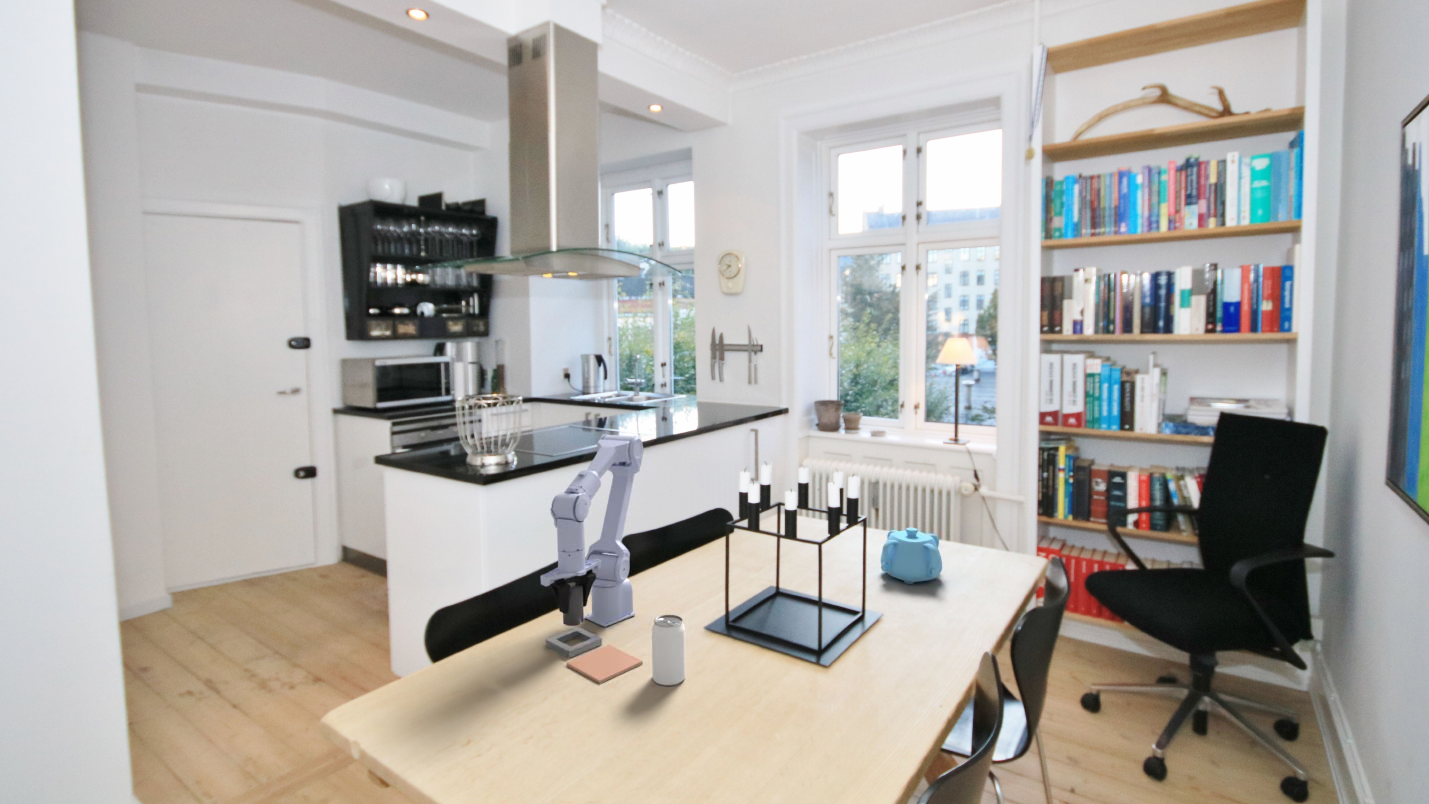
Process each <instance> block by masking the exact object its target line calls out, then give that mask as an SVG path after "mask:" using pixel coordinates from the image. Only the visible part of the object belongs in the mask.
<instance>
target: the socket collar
mask: <svg viewBox="0 0 1429 804" xmlns="http://www.w3.org/2000/svg"><path fill="white" fill-rule="evenodd" d="M575 638H578V639H579V640H581V641H582V642H579V643H577V644H574V645H572V646H570V645H568V644H566V643H565V642H568V641H571V640H574V639H575ZM602 645H603V639H602V637H601V636H599V635H596V634H594V633H592V632H590V631H588V630H586V629H584V628H581V627H580V626H577V627H576V626H575V628H571V629H568V630H566V631H563V632H561V633H558V634H555V635H552V636H551V637H550V636H549V637H548V638H546V639H545V647H548V648H549V649H551V650H552V651H555V652H557V653H559V654H561V655H563V656H564V657H566V658H568V659H571V658H574V657H575V656H576V657H577V656H579V655H580V654H583V653H585V652H588V651H591V650H592V649H595V648H598V647H599V646H602Z"/></svg>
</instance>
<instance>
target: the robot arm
mask: <svg viewBox="0 0 1429 804" xmlns="http://www.w3.org/2000/svg"><path fill="white" fill-rule="evenodd" d="M643 455H644V445H643V441H642V439H641V438H640V436H639V435H621V434H620V435H617V434H616V435H615V434H608V433H603V434H602V435H601V436H600V438H599V439H598V441H597V445H596V455H594V458H593V459H592V460H591V462H590V464H589V465H588V467H587V469H583V470H580V471H578V473H577V475H576V476H575V478H574V479H573V480H572V481H571V483H570V484H569V485H568V486H567V488H566V489H565V490H564V492H559V493H558V494H556V495H555V496H554V497H553V499H552V502H551V507H550V509H549V510H550V515H551V517H552V519H553V524H554V527H555V528H556V534H557V535H556V538H557V539H556V540H557V567H556V568H554V569H552V570H550V571H548V572H547V573H544V574H541V575H540V585H542V586H544V587H549V588H550V590H551V592H552V593H553V595H554V598H555V600H556V603H557V607H558V611H559V612H560V613H562V614H563V613H564V614H566V613H568V595H569V589H570V586H571V585H569V584H567V581H566V580H567V579H570V578H573V577H574V580H575V583H581V584H582V585H583V608H585V607H587V604H588V599H589V596H590V592H591V613H588V614H585V615H584V619H587V620H588V621H590V622H592V623H594V624H597V625H600V626H602V627H604V628H606V627H609V626H611V625H614V624H616V623H619V622H621V621H623V620H626V619H628V618H631V617H633V616H635V615H636V613H635V612H634V601H633V600H634V596H633V595H634V594H633V593H634V591H633V586H632V583H631V581H630V580H629V579H628V577H629V573H630V566H631V565H630V557H631V553H630V551H629V549H628V548H627V547H626V545H624V543H623V542H622V540H623V535H624V531H625V524H626V519H627V514H628V508H629V505H630V499H631V493H632V489H633V484H634V479H635V474H637V473H639V472H640V468H641V466H642V460H643ZM607 471H609V472H611V473H612V481H611V487H610V491H609V495H608V499H607V500H608V501H607V503H606V509H605V514H604V518H603V523H602V524H603V525H602V527H601V534H600V537H599V539H598V540H597V541H595V542H593V543H592V544H590V545H589V547H588V552H587V554H585V553H586V549H585V548H586V547H585V520H586V518H587V517H588V514H589V511H590V506H591V504H592V499H593V498H594V496H595V495H596V493H597V492H598V491H599V489H600V488H601V485H602V482H601V478H602V477H603V476H604V475H605V474H606V472H607Z"/></svg>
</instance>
